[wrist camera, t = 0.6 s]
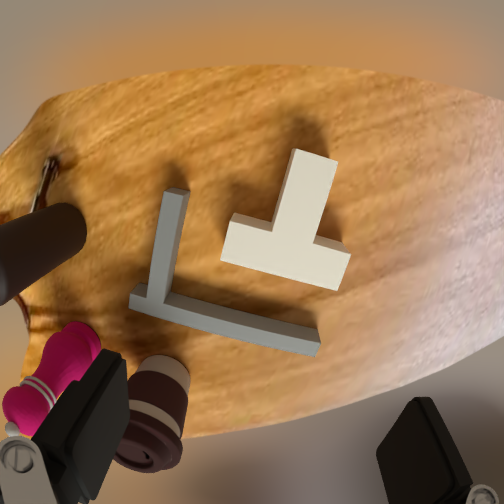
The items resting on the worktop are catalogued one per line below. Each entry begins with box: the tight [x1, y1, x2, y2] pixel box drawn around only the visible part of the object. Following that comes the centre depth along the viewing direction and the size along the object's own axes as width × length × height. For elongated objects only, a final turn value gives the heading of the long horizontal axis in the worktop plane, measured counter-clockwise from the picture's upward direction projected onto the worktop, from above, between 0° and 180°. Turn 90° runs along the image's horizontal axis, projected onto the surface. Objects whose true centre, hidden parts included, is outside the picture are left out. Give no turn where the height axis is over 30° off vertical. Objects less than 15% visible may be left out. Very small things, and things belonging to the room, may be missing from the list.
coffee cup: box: [113, 355, 190, 473], centre depth 34 cm, size 10×10×15 cm
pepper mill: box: [2, 321, 101, 437], centre depth 30 cm, size 7×7×20 cm
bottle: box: [0, 203, 87, 306], centre depth 25 cm, size 7×7×20 cm
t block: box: [220, 148, 351, 291], centre depth 31 cm, size 12×12×4 cm
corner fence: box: [129, 187, 321, 357], centre depth 34 cm, size 22×14×3 cm, turn 75°
